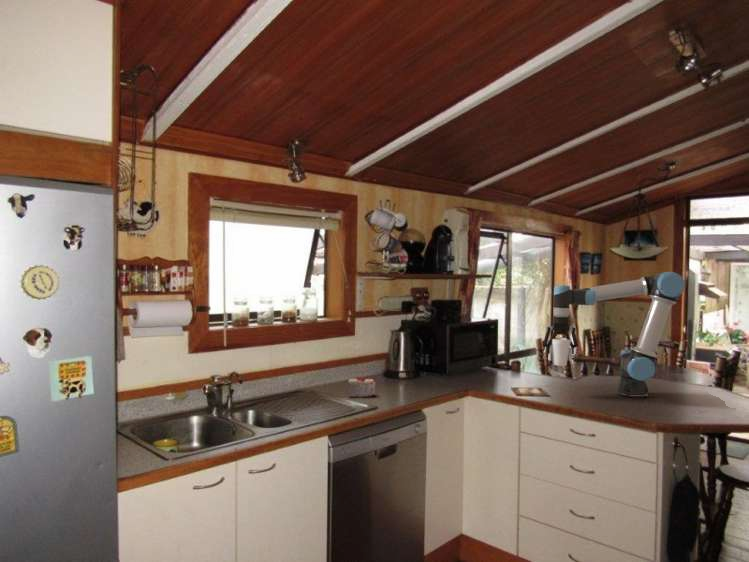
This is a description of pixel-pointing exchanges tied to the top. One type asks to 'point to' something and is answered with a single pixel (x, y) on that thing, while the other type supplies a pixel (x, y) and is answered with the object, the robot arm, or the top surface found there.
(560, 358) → the foam cup
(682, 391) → the top surface
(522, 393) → the trivet
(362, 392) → the food item
